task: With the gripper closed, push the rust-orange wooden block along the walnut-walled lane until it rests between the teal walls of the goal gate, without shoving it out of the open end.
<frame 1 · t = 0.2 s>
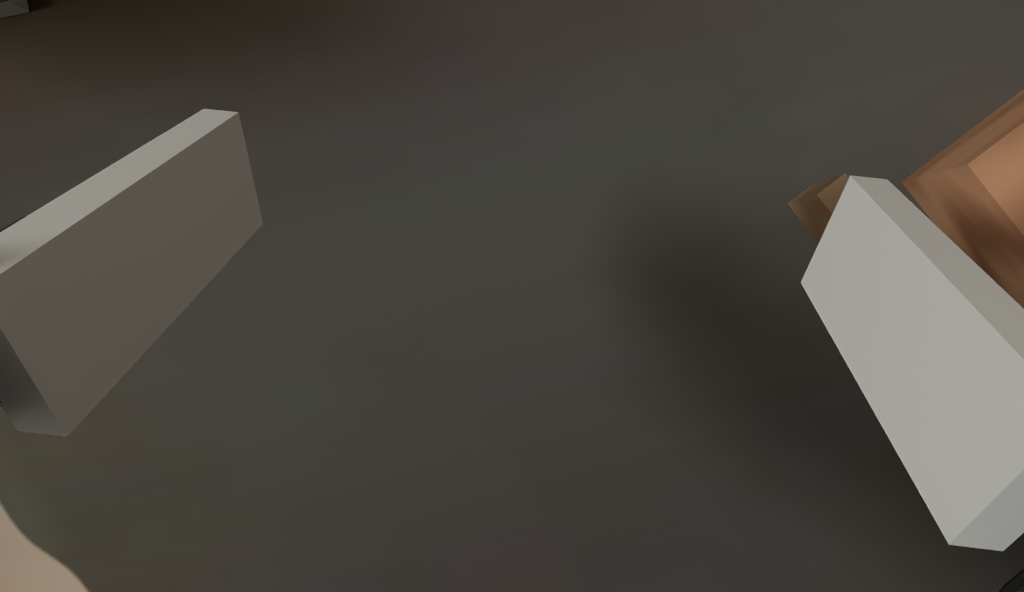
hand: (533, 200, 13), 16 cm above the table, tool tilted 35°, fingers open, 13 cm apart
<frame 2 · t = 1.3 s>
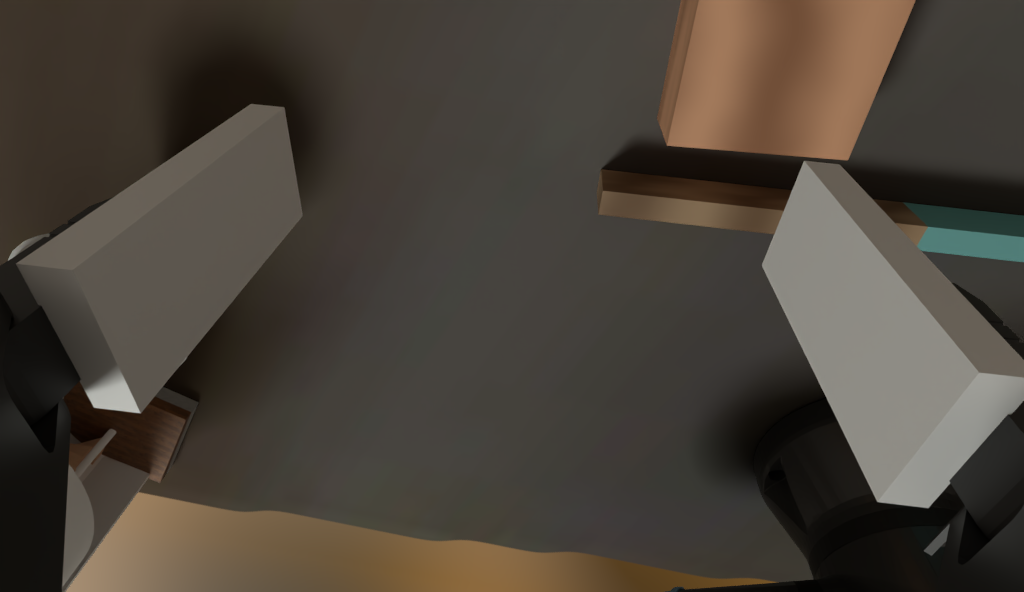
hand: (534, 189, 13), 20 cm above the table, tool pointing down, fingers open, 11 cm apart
lane walls: (919, 55, 29), on the table
white open shelf: (129, 410, 52), on the table
wooden block: (760, 37, 29), on the table
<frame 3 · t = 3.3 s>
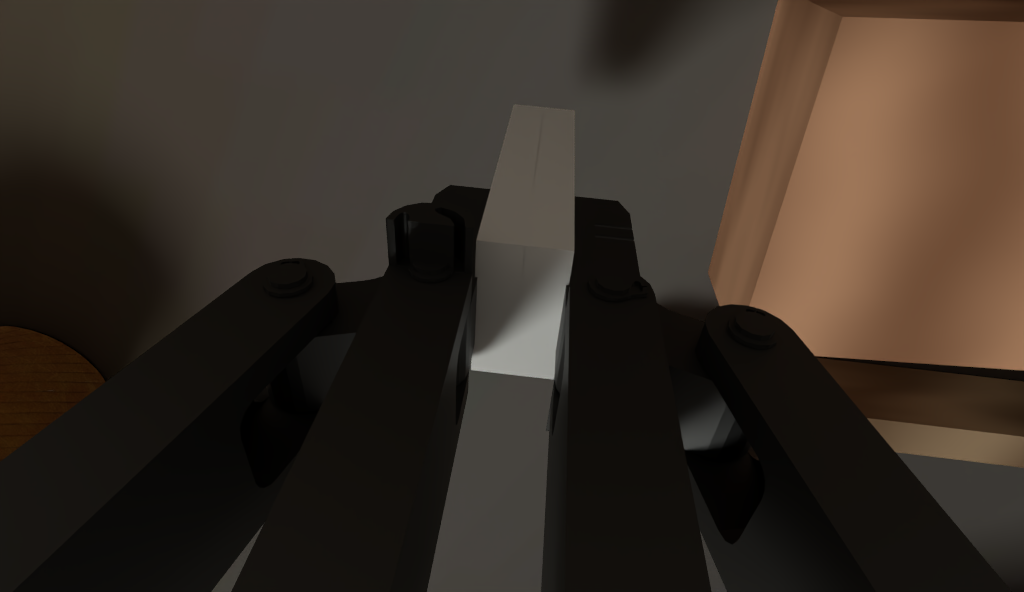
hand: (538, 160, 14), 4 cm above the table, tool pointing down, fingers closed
disposable coffee cup: (48, 373, 27), on the table
wooden block: (885, 155, 17), on the table
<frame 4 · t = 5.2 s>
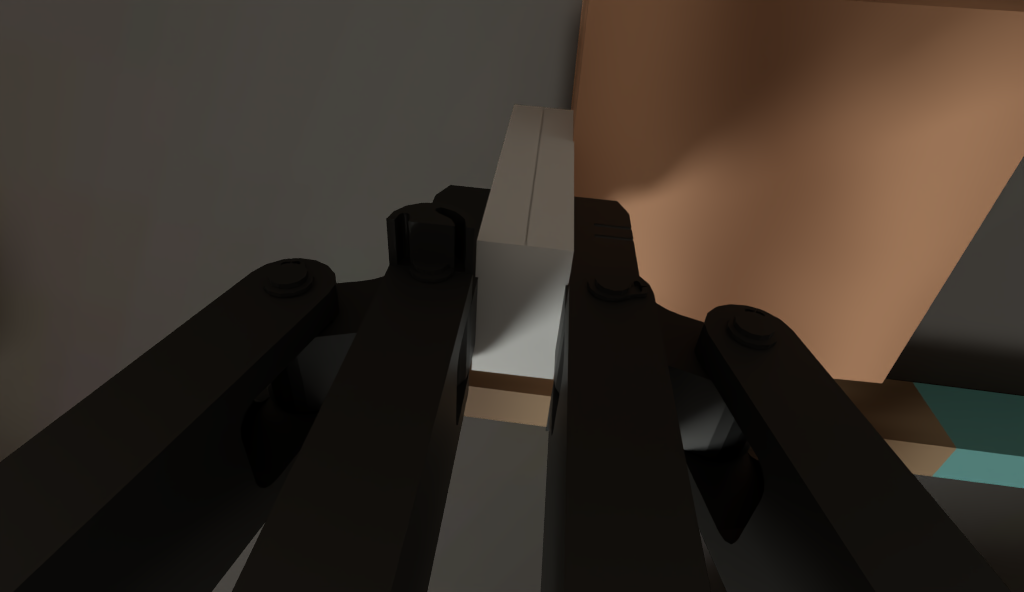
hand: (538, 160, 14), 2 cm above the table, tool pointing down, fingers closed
lane walls: (950, 169, 16), on the table
wooden block: (723, 146, 16), on the table, touching gripper
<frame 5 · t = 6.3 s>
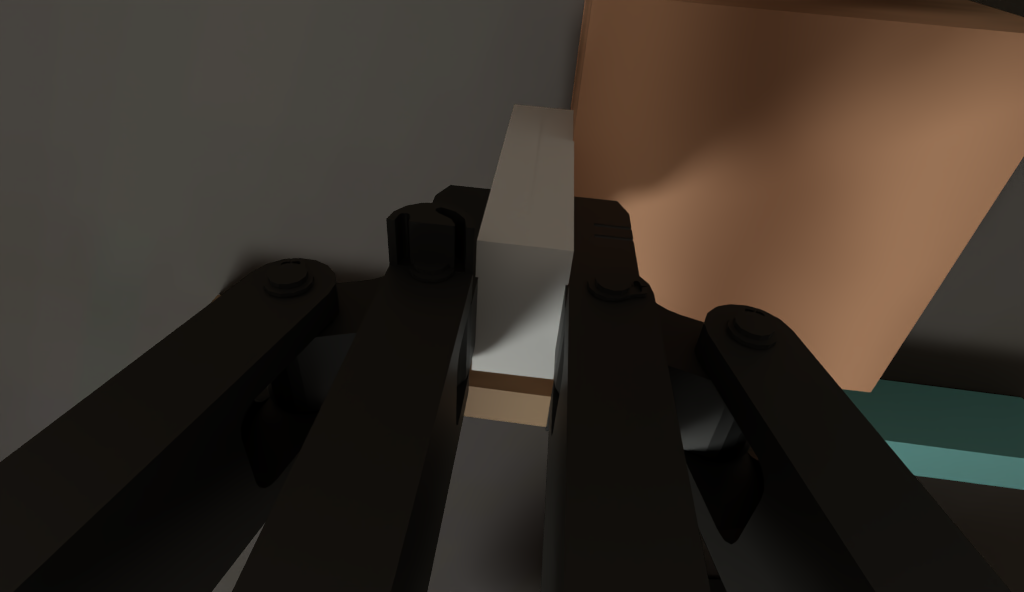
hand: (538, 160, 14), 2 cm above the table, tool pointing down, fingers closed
lane walls: (668, 137, 16), on the table
goal gate: (985, 175, 16), on the table
wooden block: (719, 155, 16), on the table, touching gripper
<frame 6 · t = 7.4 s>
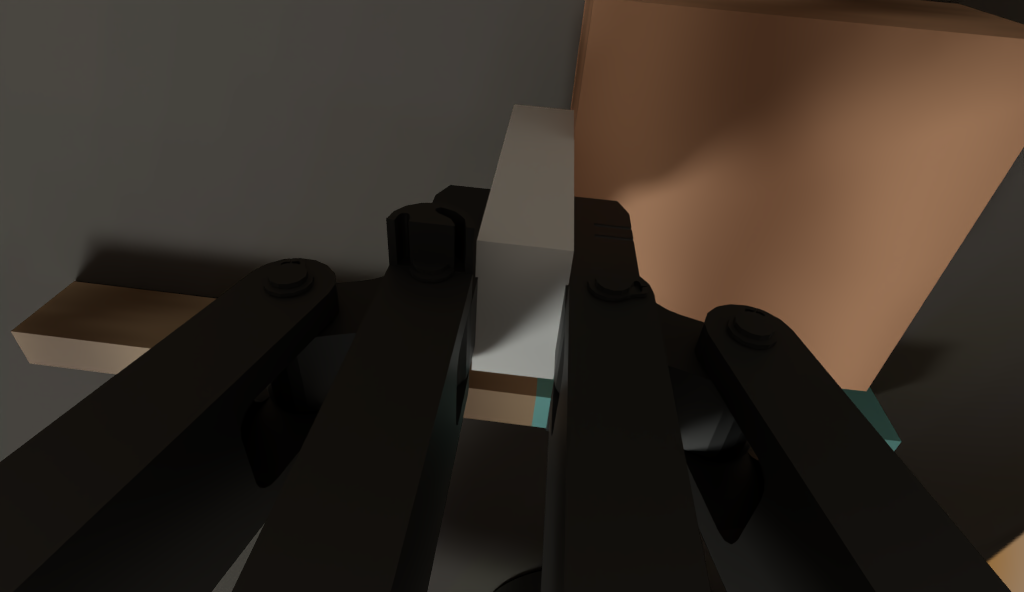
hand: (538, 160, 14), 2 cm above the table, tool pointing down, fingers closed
lane walls: (468, 118, 16), on the table
goal gate: (778, 152, 16), on the table
wooden block: (717, 156, 17), on the table, touching gripper
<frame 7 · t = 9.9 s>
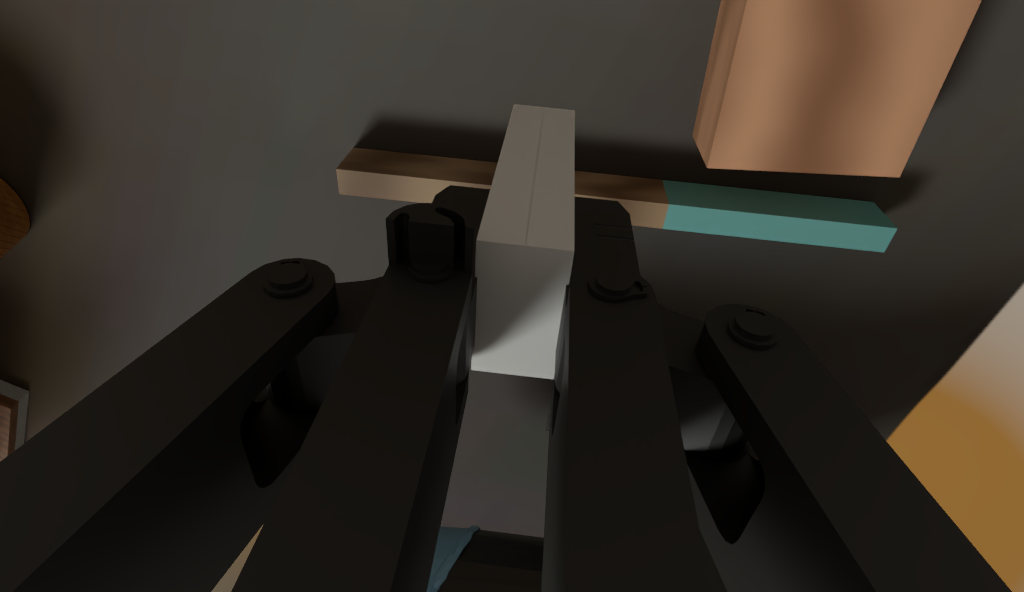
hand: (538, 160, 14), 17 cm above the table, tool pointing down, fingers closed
lane walls: (638, 23, 28), on the table
goal gate: (824, 41, 27), on the table
wooden block: (802, 49, 28), on the table
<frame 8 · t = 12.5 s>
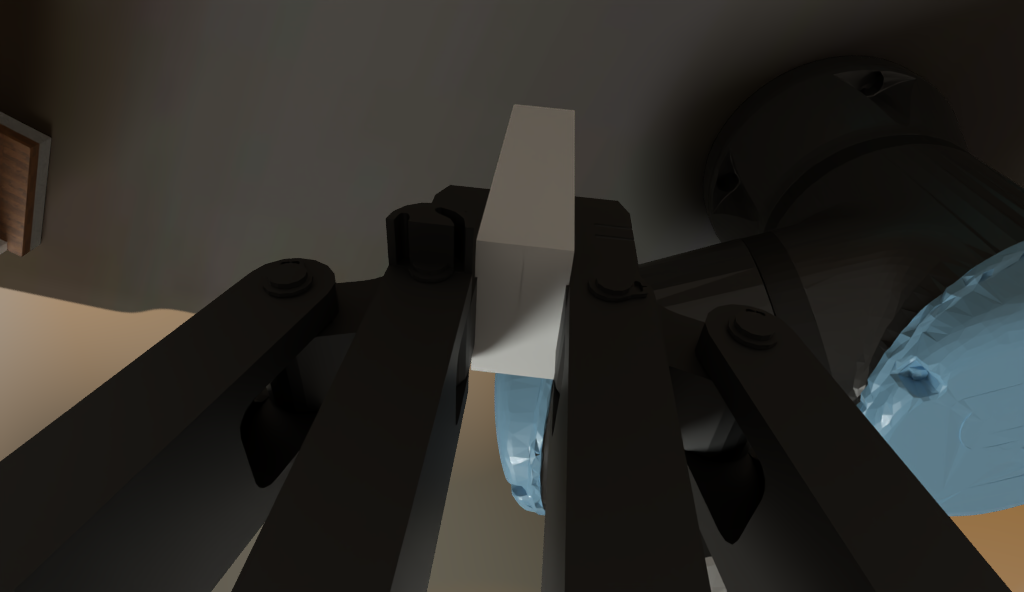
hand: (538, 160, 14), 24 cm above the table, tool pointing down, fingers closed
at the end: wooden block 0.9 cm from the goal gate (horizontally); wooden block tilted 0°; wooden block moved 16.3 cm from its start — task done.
